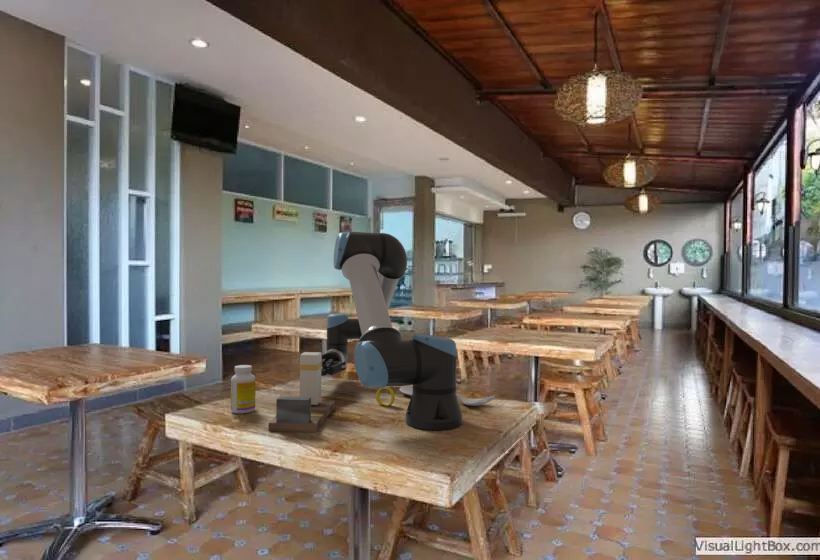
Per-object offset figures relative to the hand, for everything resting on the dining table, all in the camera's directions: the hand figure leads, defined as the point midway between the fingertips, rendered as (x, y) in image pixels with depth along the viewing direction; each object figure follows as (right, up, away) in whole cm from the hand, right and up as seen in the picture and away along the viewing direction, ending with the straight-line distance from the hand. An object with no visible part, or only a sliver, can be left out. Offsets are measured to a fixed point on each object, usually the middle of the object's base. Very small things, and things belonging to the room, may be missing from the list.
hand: (315, 375), depth 155 cm
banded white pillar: (0, -7, -7) cm, 9 cm away
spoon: (+39, -10, +8) cm, 41 cm away
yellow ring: (+21, -9, +1) cm, 23 cm away
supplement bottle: (-19, -9, -7) cm, 23 cm away
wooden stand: (-1, -9, -13) cm, 16 cm away
